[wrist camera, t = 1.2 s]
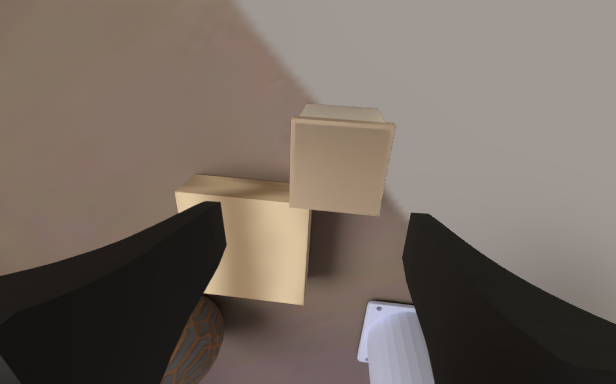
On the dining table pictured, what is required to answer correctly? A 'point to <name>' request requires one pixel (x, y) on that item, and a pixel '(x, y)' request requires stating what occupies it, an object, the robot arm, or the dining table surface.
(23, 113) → the dining table surface
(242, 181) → the block
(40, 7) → the dining table surface
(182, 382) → the vase
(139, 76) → the dining table surface
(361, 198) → the framed cream cube
